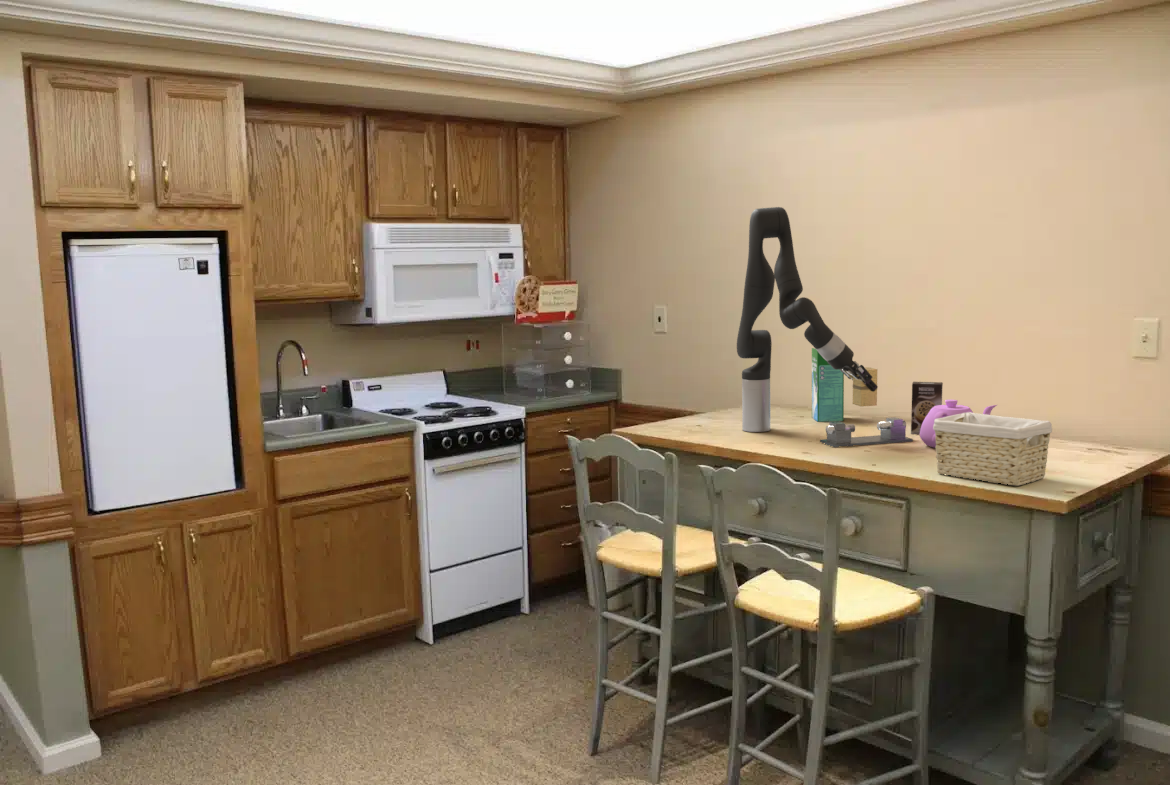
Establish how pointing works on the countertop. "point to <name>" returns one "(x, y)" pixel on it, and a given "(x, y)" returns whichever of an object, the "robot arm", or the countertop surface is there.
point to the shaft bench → (889, 433)
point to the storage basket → (992, 447)
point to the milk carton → (826, 390)
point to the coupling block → (865, 390)
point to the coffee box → (924, 402)
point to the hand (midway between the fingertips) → (870, 387)
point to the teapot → (939, 412)
